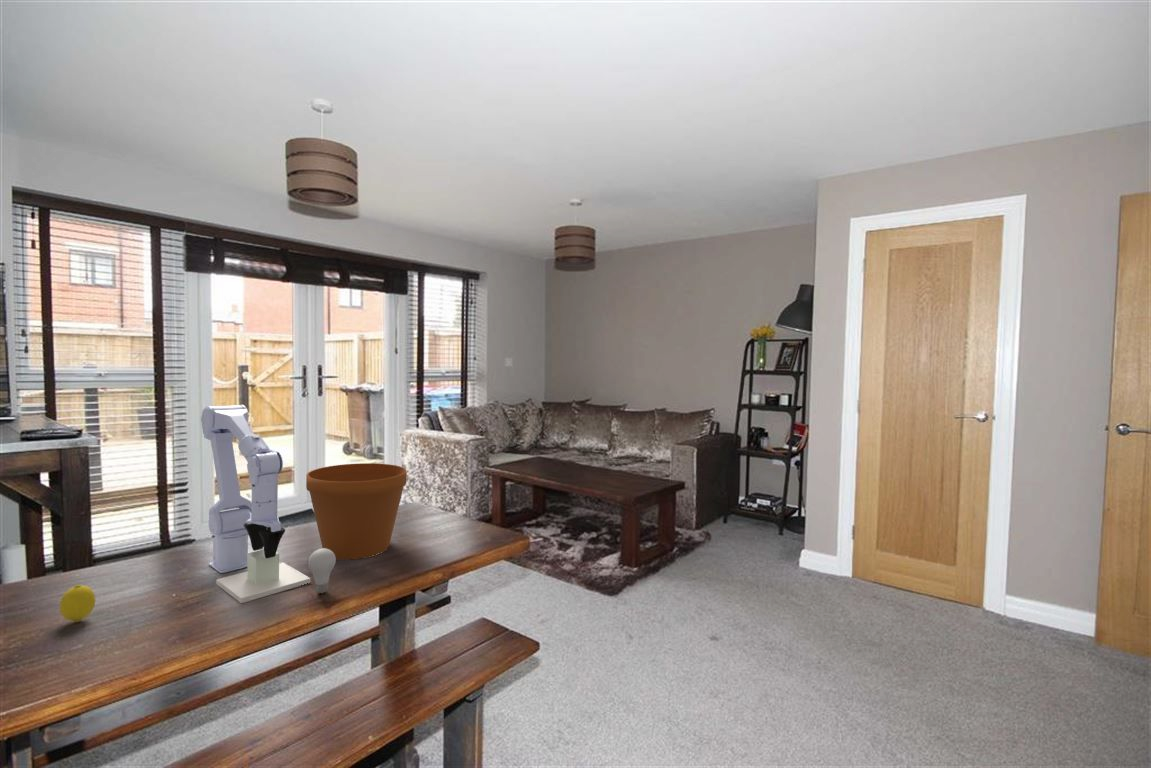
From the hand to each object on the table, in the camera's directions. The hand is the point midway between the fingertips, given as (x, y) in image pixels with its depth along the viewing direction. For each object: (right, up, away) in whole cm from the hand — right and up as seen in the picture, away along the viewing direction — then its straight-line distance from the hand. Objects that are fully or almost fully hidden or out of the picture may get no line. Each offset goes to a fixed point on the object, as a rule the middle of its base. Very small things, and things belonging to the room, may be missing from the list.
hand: (263, 553), depth 137 cm
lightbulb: (+17, -9, -4) cm, 19 cm away
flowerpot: (+12, -7, +27) cm, 31 cm away
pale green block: (0, -7, 0) cm, 7 cm away
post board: (0, -8, 0) cm, 8 cm away
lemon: (-27, -8, -22) cm, 36 cm away
